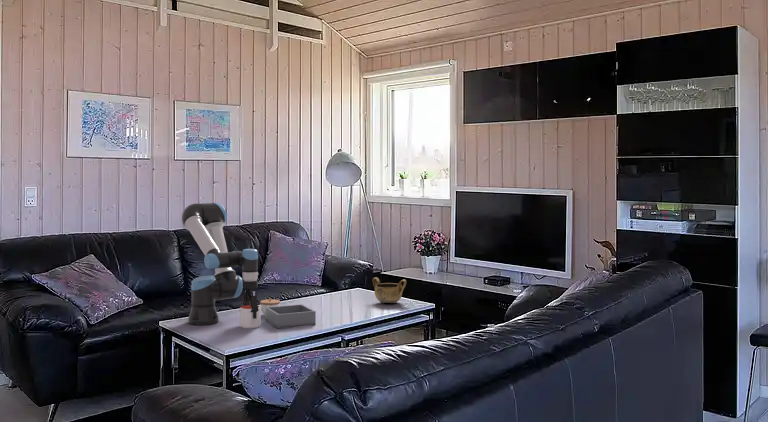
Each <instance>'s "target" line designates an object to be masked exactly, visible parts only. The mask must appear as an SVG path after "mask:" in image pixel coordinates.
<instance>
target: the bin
mask: <svg viewBox="0 0 768 422" xmlns="http://www.w3.org/2000/svg"><path fill="white" fill-rule="evenodd" d="M265 321H266V322H267V323H268V324H270V325H272V326H273V327H274V328H276V329H280V330H281V329H288V328H289V329H290V328H298V327H299V328H300V327H307V326H316V321H317V320H316V310H314V309H312V308H310V307H309V306H306V305H304V304H303V303H302V304H301V303H300V304H291V305H290V304H289V305H280V306H276V307H266V316H265Z"/></svg>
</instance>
